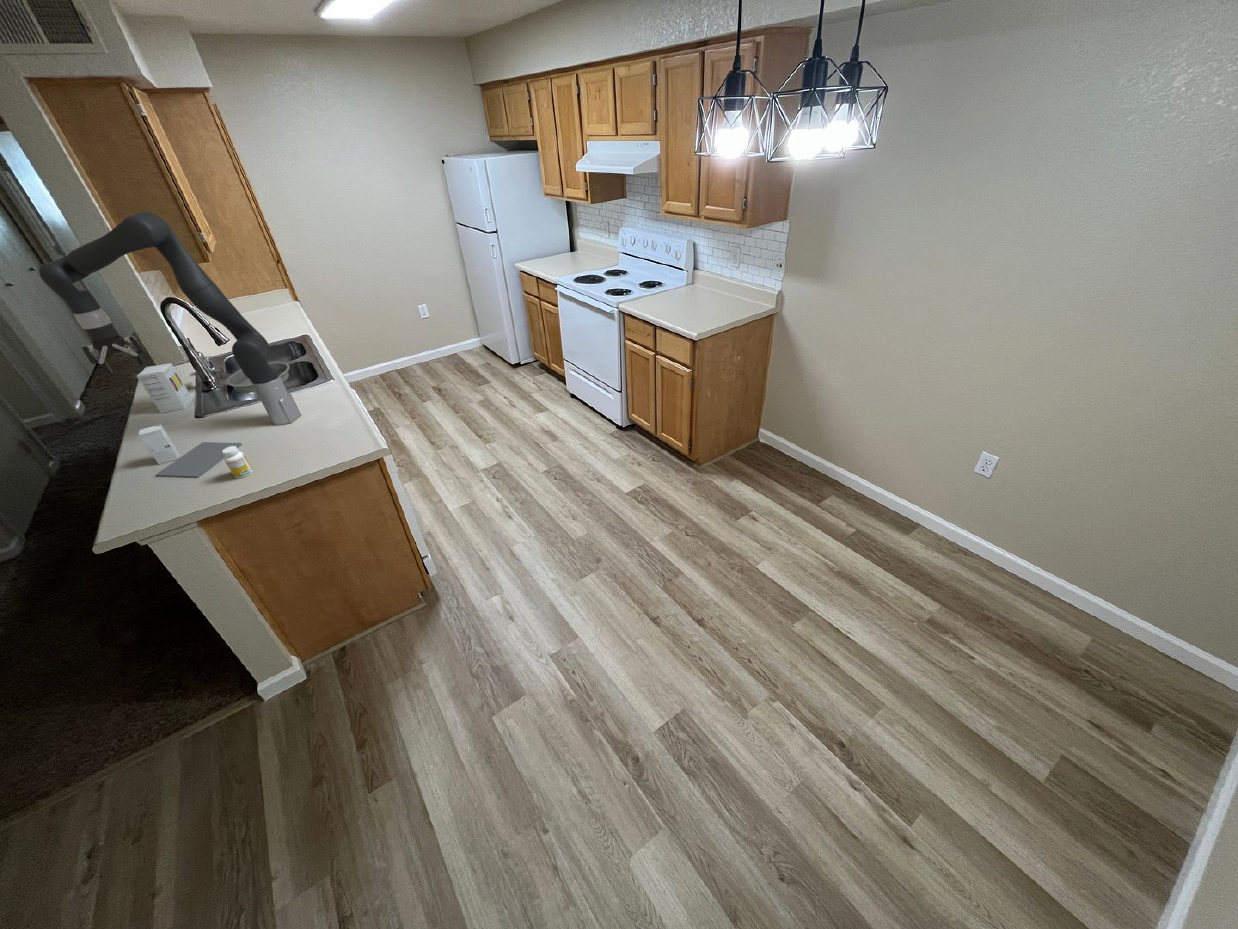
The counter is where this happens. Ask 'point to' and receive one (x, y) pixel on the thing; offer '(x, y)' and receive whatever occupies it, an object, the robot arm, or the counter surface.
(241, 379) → the cake pan
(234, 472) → the supplement bottle
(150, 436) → the skincare box
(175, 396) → the supplement box
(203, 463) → the rubber mat
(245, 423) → the counter surface
